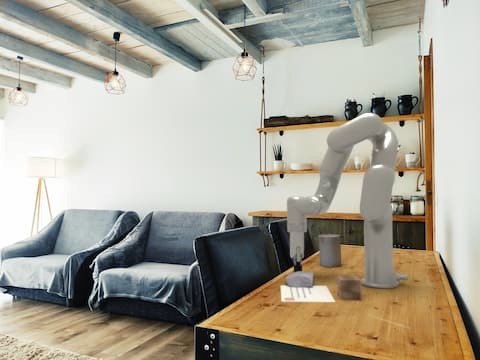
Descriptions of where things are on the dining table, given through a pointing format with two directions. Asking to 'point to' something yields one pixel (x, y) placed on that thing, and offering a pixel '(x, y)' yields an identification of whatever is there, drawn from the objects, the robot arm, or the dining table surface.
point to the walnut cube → (349, 287)
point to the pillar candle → (330, 250)
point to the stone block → (300, 279)
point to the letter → (306, 294)
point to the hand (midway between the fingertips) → (298, 275)
